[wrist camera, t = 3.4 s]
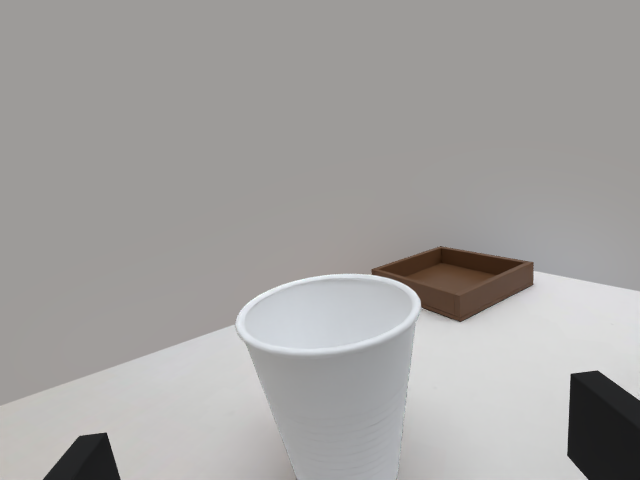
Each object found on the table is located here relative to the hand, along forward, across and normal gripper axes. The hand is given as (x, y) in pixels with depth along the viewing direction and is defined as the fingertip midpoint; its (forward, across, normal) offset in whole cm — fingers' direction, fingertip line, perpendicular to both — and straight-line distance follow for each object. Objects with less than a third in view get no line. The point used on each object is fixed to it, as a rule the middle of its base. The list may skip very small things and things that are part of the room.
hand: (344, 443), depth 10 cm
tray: (+36, +17, -11) cm, 41 cm away
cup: (+10, 0, -11) cm, 14 cm away
